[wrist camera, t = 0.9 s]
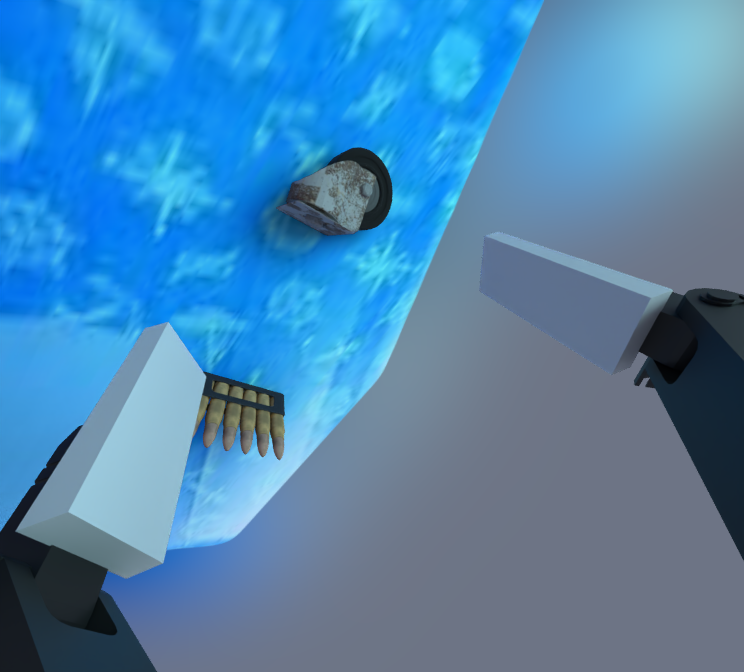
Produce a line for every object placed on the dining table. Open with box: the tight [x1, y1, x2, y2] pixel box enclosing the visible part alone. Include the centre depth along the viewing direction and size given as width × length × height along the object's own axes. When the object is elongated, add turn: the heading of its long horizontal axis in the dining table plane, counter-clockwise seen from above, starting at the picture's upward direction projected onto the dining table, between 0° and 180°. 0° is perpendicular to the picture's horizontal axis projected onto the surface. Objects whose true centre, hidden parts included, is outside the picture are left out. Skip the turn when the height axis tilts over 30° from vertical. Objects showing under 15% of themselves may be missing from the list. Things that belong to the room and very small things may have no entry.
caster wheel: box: [276, 148, 392, 235], centre depth 31 cm, size 7×11×10 cm
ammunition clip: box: [192, 372, 285, 460], centre depth 32 cm, size 11×2×12 cm, turn 60°
